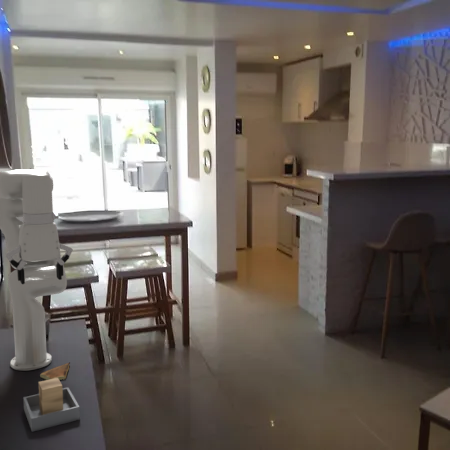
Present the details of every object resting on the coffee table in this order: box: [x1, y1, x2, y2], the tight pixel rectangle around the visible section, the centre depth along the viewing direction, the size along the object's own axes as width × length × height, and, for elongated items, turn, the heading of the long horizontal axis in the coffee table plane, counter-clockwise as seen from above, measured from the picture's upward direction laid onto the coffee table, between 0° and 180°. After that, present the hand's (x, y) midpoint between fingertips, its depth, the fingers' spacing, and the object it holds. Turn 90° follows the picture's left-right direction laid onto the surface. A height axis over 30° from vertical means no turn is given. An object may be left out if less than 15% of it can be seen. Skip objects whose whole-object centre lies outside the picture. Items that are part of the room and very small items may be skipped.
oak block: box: [38, 378, 63, 415], centre depth 131 cm, size 5×5×8 cm
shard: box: [39, 362, 71, 380], centre depth 155 cm, size 11×8×2 cm
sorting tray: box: [22, 387, 81, 433], centre depth 132 cm, size 12×12×4 cm
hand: (41, 280), depth 137 cm, fingers open, 9 cm apart
